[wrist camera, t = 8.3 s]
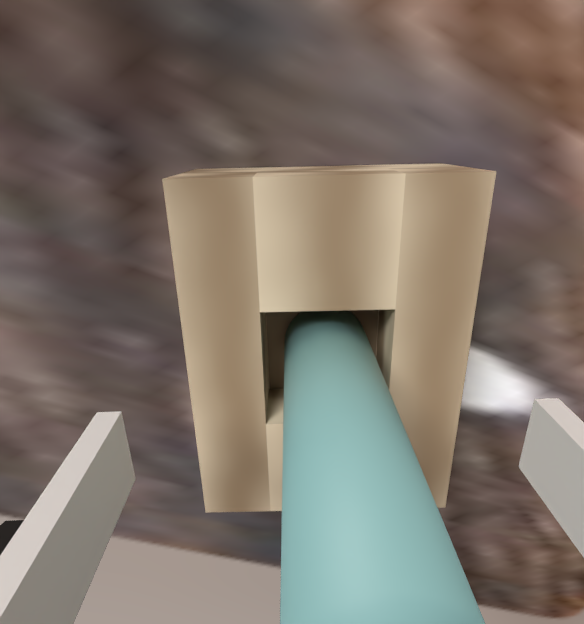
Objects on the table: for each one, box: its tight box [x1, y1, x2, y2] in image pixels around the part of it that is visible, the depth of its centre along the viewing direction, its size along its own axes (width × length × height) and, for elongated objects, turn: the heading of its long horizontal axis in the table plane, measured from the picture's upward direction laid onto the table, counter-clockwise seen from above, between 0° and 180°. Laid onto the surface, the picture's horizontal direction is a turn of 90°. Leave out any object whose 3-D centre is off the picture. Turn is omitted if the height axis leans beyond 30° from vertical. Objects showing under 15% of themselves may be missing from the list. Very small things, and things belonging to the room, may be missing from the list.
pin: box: [280, 310, 485, 624], centre depth 14 cm, size 4×4×14 cm
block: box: [162, 163, 496, 512], centre depth 21 cm, size 12×16×6 cm
